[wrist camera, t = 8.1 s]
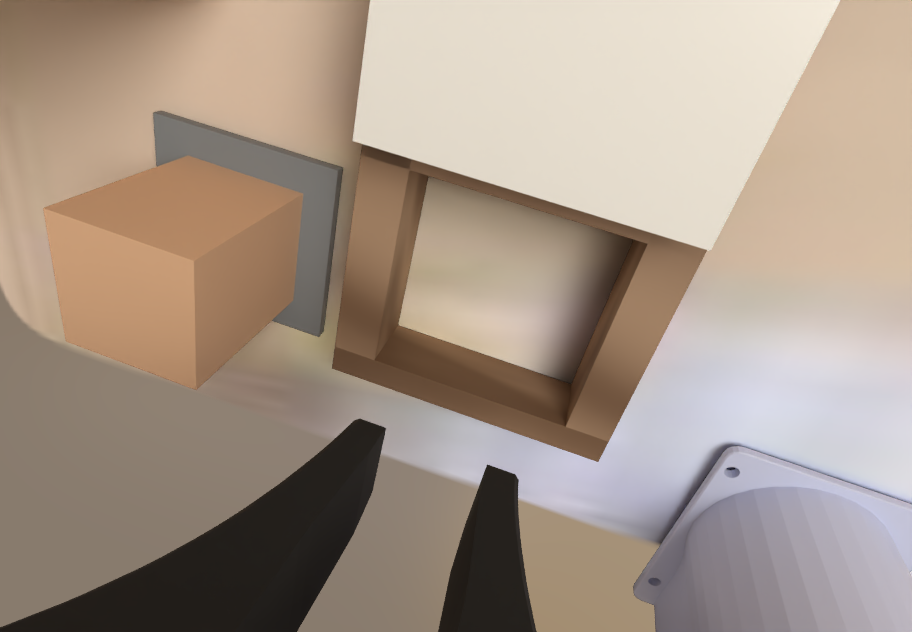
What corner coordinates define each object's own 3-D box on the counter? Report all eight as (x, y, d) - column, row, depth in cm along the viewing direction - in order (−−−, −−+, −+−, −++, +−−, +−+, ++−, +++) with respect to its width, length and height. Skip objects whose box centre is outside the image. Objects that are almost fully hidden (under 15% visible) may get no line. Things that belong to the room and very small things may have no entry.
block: (293, 300, 22) (196, 390, 17) (190, 264, 23) (65, 341, 18) (303, 193, 20) (193, 261, 15) (187, 155, 20) (42, 208, 15)
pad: (323, 332, 23) (319, 337, 23) (170, 278, 24) (163, 283, 23) (342, 167, 19) (338, 170, 19) (161, 110, 20) (153, 112, 20)
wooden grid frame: (600, 416, 22) (597, 461, 20) (358, 333, 23) (332, 368, 21) (895, -190, 12) (953, -229, 10) (458, -287, 13) (426, -341, 11)
